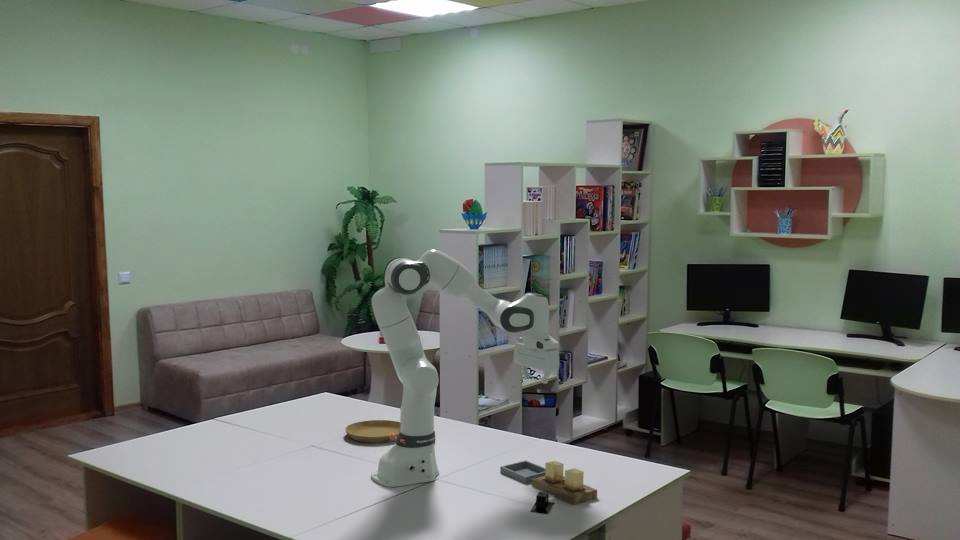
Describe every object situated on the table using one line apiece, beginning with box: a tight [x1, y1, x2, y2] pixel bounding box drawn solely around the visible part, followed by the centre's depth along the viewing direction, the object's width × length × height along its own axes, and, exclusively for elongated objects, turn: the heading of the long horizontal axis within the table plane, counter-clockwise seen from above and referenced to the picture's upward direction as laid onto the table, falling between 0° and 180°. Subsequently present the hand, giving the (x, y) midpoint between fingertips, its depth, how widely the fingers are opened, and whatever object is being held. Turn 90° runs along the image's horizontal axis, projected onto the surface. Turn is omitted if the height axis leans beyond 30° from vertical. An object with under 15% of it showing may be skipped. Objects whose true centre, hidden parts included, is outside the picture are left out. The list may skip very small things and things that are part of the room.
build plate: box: [529, 491, 556, 515], centre depth 246 cm, size 12×7×5 cm, turn 163°
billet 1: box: [544, 460, 564, 485], centre depth 262 cm, size 4×4×8 cm
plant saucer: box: [344, 419, 400, 444], centre depth 319 cm, size 24×24×3 cm
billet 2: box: [564, 468, 584, 493], centre depth 255 cm, size 4×4×8 cm
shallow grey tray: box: [499, 460, 545, 485], centre depth 274 cm, size 11×13×2 cm
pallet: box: [531, 475, 598, 506], centre depth 259 cm, size 10×19×2 cm, turn 37°
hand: (535, 380), depth 284 cm, fingers open, 8 cm apart
